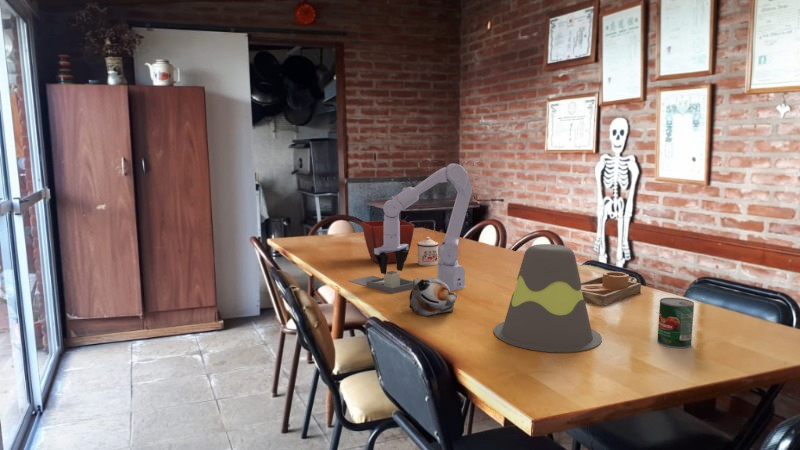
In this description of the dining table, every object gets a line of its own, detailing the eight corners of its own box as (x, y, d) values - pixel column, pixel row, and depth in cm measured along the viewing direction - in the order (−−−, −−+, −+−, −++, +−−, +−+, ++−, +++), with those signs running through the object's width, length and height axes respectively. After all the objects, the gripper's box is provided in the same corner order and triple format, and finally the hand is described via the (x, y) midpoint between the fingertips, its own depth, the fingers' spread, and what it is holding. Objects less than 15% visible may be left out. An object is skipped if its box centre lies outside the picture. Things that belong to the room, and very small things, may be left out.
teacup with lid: (421, 266, 240) (421, 239, 238) (414, 262, 248) (414, 236, 247) (447, 264, 244) (448, 237, 242) (439, 260, 252) (439, 234, 251)
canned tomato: (652, 343, 146) (654, 301, 144) (664, 336, 151) (666, 295, 150) (684, 351, 140) (687, 307, 139) (696, 343, 146) (699, 301, 144)
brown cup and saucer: (618, 290, 200) (619, 270, 199) (632, 296, 192) (634, 276, 191) (571, 293, 196) (572, 273, 195) (585, 299, 188) (586, 279, 187)
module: (399, 286, 203) (399, 272, 202) (391, 288, 200) (391, 273, 200) (392, 284, 206) (392, 270, 205) (384, 286, 203) (383, 271, 203)
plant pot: (361, 257, 259) (361, 221, 257) (401, 255, 265) (401, 219, 263) (372, 266, 241) (372, 226, 239) (415, 263, 247) (415, 224, 245)
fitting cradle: (640, 291, 197) (641, 283, 197) (604, 305, 180) (604, 296, 180) (600, 284, 208) (600, 276, 208) (562, 296, 191) (562, 287, 191)
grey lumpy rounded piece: (460, 307, 178) (467, 274, 170) (445, 332, 169) (451, 298, 161) (417, 290, 183) (421, 256, 174) (400, 313, 174) (404, 279, 166)
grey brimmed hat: (523, 313, 172) (525, 235, 169) (617, 332, 155) (621, 245, 151) (474, 337, 151) (475, 247, 148) (576, 362, 133) (580, 261, 130)
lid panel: (391, 282, 212) (391, 278, 212) (366, 287, 204) (366, 284, 204) (372, 277, 220) (372, 274, 220) (347, 282, 212) (347, 278, 212)
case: (417, 288, 202) (417, 282, 202) (392, 294, 194) (392, 288, 194) (391, 282, 212) (391, 275, 212) (366, 287, 204) (366, 281, 204)
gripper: (399, 230, 208) (399, 267, 210) (368, 234, 199) (368, 273, 201) (412, 233, 203) (412, 270, 205) (381, 237, 193) (381, 276, 195)
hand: (391, 271), depth 202 cm, fingers open, 7 cm apart
